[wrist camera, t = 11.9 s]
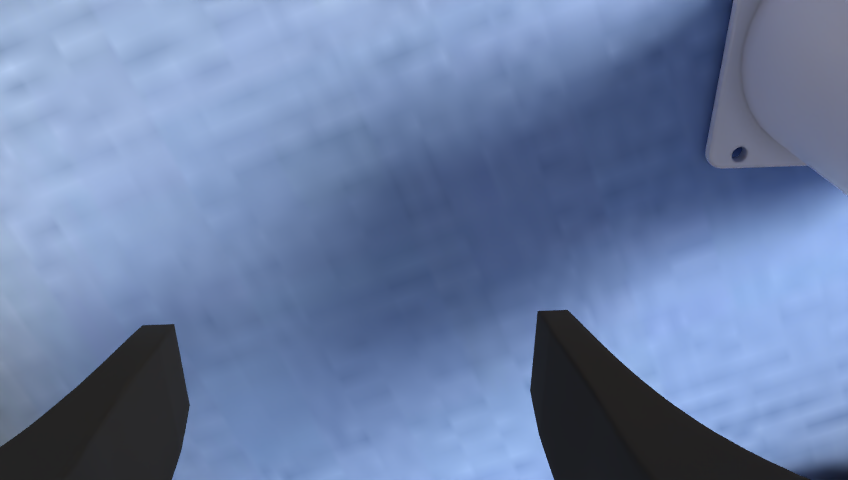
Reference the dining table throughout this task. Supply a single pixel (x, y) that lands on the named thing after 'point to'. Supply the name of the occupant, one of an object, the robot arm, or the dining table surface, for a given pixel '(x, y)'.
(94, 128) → the dining table surface
